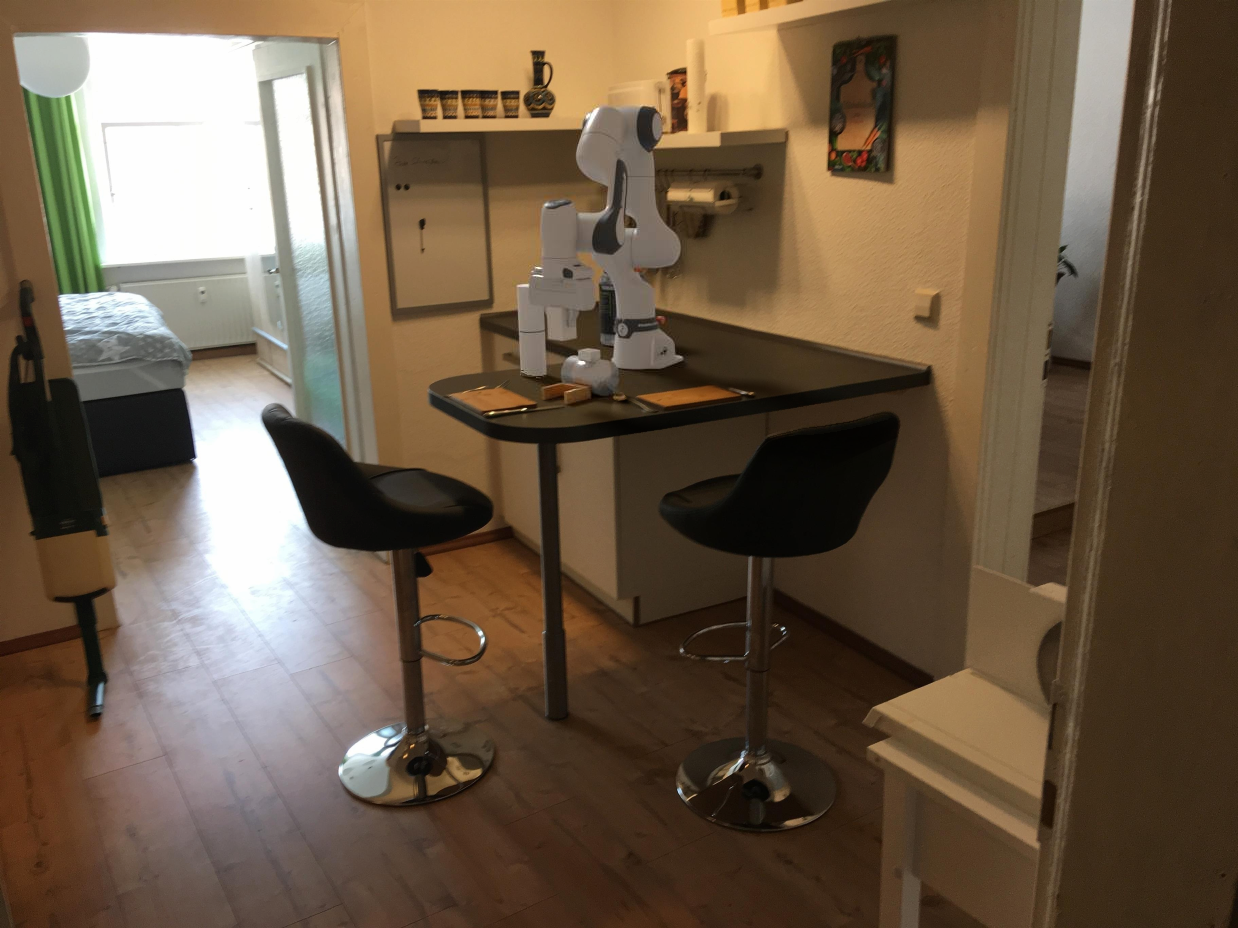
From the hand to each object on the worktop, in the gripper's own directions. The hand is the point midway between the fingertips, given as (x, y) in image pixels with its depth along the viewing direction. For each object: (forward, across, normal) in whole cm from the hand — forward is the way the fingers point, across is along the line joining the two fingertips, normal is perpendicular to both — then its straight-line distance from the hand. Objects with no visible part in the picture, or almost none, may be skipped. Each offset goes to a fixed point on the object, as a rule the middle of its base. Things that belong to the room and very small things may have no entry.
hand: (561, 326), depth 247 cm
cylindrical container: (+19, -28, +16) cm, 37 cm away
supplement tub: (+19, -41, +69) cm, 82 cm away
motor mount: (+19, 0, +5) cm, 19 cm away
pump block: (+3, 0, 0) cm, 3 cm away
